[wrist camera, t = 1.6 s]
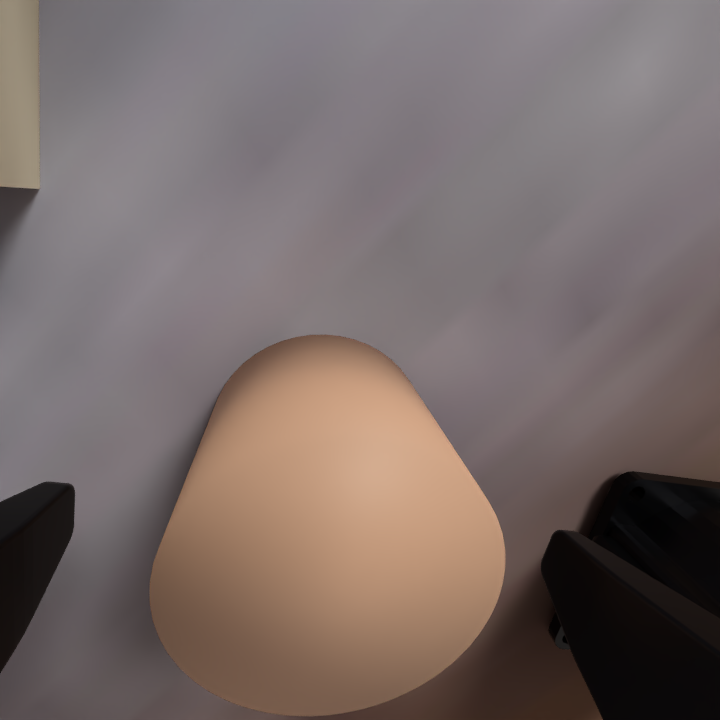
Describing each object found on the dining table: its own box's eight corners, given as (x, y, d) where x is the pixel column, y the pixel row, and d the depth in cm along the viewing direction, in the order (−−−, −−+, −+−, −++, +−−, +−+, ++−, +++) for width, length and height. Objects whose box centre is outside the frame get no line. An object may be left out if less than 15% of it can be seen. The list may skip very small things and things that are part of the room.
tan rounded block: (444, 354, 11) (552, 459, 7) (394, 529, 13) (452, 716, 8) (225, 315, 10) (165, 411, 5) (199, 513, 12) (137, 716, 7)
